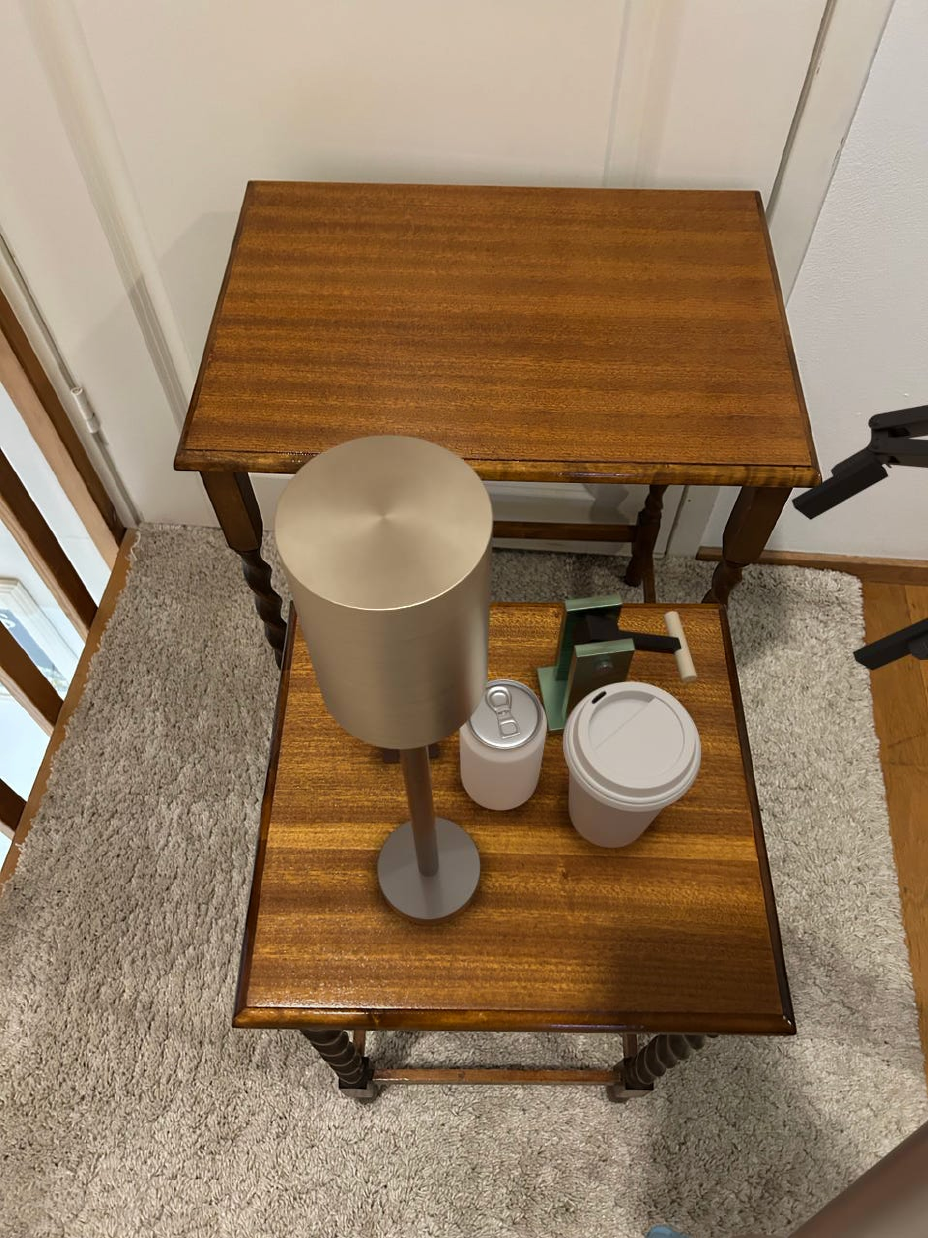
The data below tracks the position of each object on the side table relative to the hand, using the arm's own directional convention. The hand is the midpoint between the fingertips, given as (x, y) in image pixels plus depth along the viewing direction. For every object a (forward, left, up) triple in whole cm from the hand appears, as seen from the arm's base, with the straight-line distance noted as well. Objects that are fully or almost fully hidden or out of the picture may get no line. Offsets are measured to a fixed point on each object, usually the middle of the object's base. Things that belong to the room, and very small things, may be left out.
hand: (829, 582), depth 70 cm
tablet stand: (+16, +28, -15) cm, 36 cm away
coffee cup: (0, +20, -15) cm, 25 cm away
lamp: (+5, +35, -15) cm, 38 cm away
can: (+8, +25, -15) cm, 30 cm away
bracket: (+9, +15, -15) cm, 23 cm away
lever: (+7, +13, -6) cm, 16 cm away
